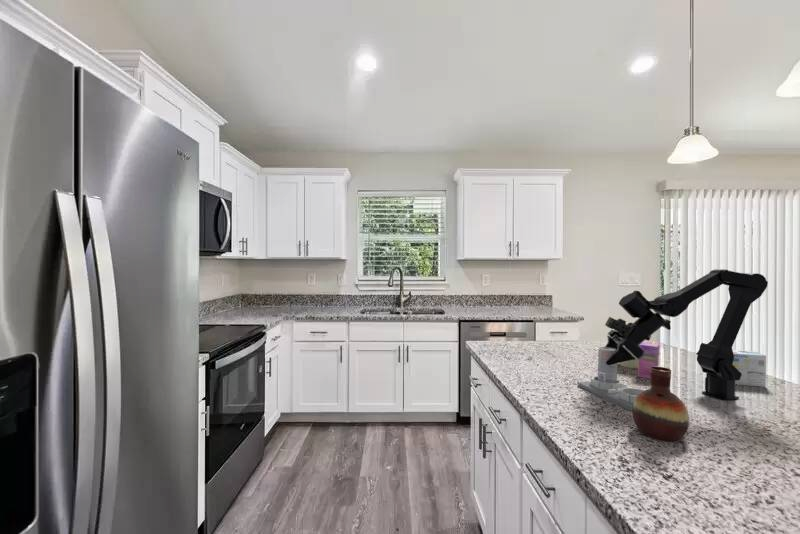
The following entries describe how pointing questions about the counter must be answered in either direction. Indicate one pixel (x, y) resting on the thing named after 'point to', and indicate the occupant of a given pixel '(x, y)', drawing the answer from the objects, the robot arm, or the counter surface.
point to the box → (648, 358)
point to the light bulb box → (750, 368)
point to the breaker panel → (612, 391)
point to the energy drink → (606, 366)
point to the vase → (660, 409)
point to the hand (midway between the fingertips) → (603, 360)
